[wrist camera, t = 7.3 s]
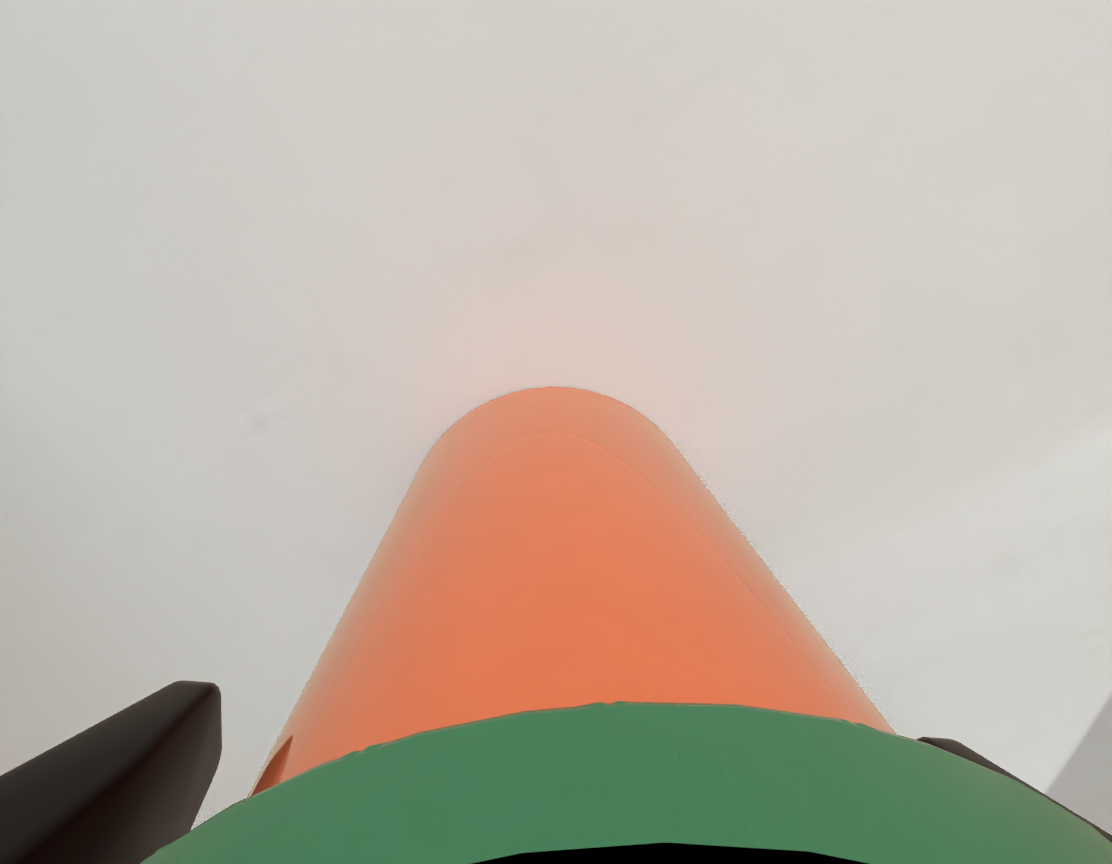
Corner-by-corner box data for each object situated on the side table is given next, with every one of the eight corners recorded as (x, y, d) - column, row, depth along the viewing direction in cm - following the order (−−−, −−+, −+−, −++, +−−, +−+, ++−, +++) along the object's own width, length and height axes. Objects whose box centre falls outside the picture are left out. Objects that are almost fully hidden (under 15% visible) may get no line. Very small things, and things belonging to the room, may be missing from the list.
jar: (399, 644, 13) (-38, 1941, 3) (416, 370, 12) (-340, 1116, 2) (672, 665, 14) (1095, 1876, 3) (721, 402, 12) (1731, 1168, 2)
